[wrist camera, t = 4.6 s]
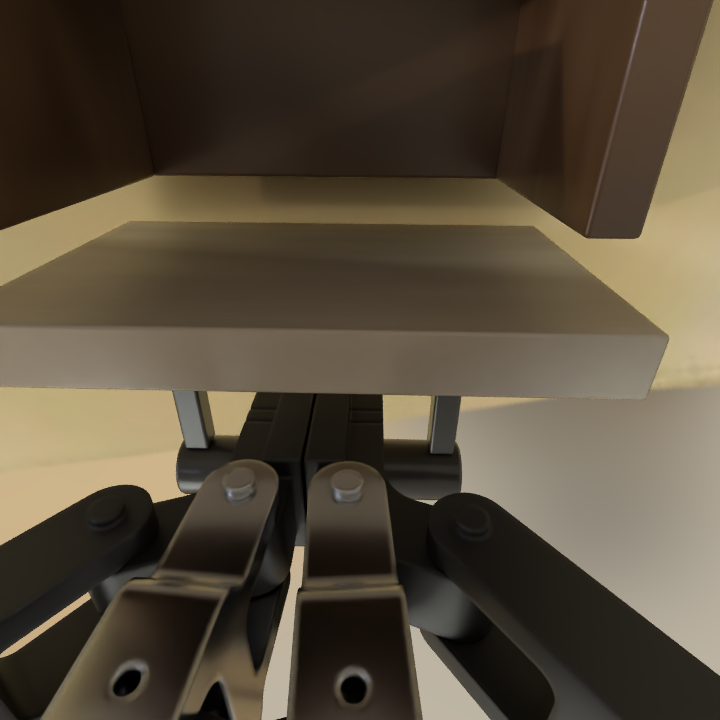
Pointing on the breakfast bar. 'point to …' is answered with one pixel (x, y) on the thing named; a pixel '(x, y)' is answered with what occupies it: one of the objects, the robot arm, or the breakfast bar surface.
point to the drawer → (337, 241)
